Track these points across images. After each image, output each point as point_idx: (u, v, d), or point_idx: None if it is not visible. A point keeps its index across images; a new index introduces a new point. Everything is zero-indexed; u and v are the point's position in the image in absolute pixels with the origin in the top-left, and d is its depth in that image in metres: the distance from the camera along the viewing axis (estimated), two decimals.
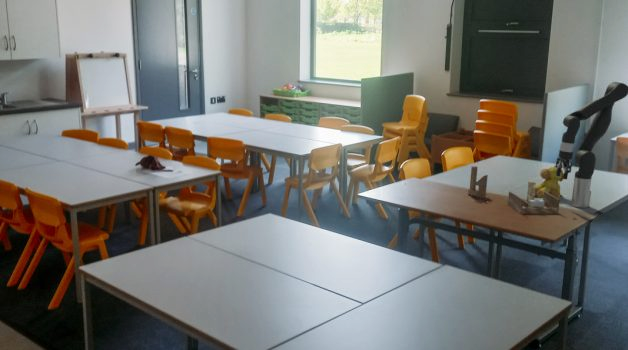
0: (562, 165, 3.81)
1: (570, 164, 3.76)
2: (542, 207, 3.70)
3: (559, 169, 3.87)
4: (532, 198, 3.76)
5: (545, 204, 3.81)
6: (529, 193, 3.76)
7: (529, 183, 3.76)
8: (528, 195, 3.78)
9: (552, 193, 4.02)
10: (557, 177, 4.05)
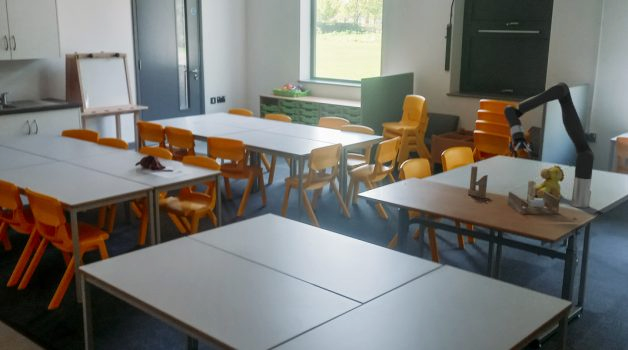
0: None
1: (509, 143, 3.91)
2: (542, 207, 3.70)
3: (528, 152, 3.90)
4: (532, 198, 3.76)
5: (545, 204, 3.81)
6: (529, 193, 3.76)
7: (529, 183, 3.76)
8: (528, 195, 3.78)
9: (552, 193, 4.02)
10: (557, 177, 4.05)
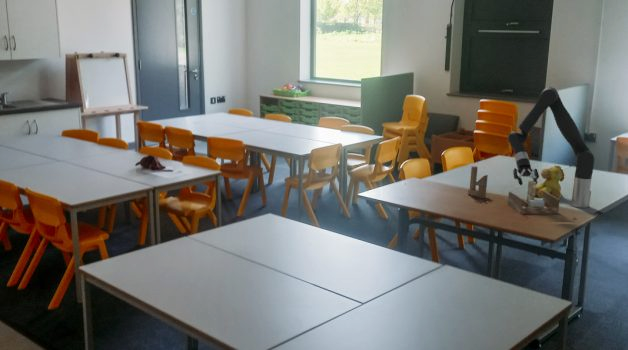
0: None
1: (514, 170, 3.84)
2: (542, 207, 3.70)
3: (533, 178, 3.83)
4: (532, 198, 3.76)
5: (545, 204, 3.81)
6: (529, 193, 3.76)
7: (529, 183, 3.76)
8: (528, 195, 3.78)
9: (553, 193, 4.02)
10: (558, 177, 4.05)
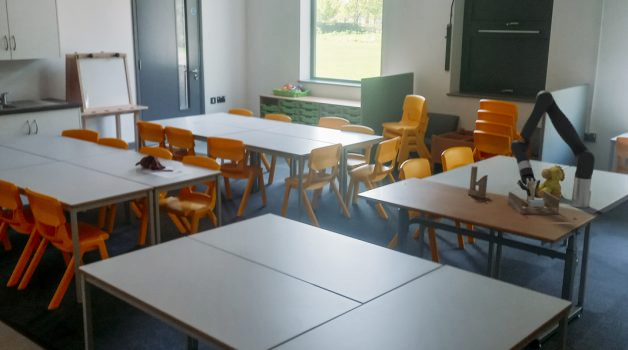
0: None
1: (518, 182, 3.79)
2: (542, 207, 3.70)
3: None
4: (532, 198, 3.76)
5: (545, 204, 3.81)
6: None
7: (529, 183, 3.76)
8: None
9: (554, 193, 4.02)
10: (558, 177, 4.05)
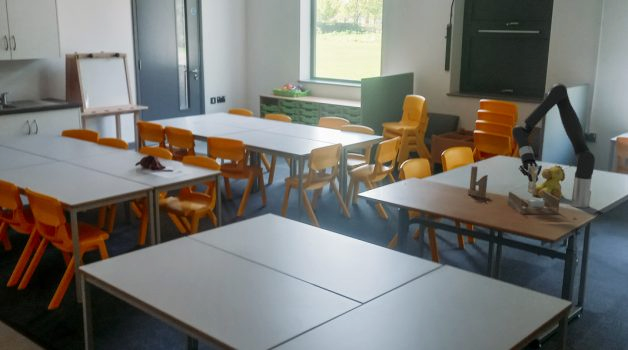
0: None
1: (520, 168, 3.77)
2: (542, 207, 3.70)
3: None
4: (534, 183, 3.74)
5: (545, 204, 3.81)
6: None
7: (530, 168, 3.75)
8: (529, 181, 3.76)
9: (554, 193, 4.02)
10: (558, 177, 4.05)
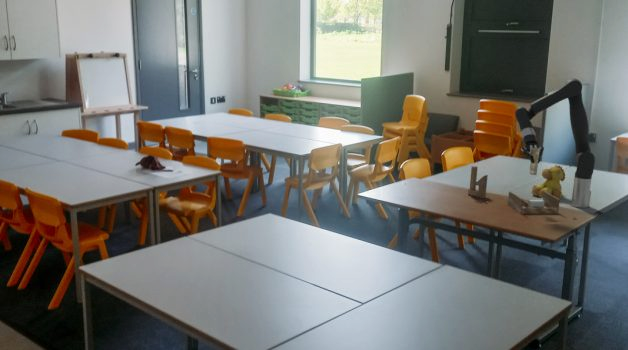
0: None
1: (522, 149, 3.75)
2: (542, 207, 3.70)
3: None
4: (536, 165, 3.72)
5: (545, 204, 3.81)
6: None
7: (532, 150, 3.72)
8: (531, 162, 3.74)
9: (554, 193, 4.02)
10: (559, 177, 4.05)
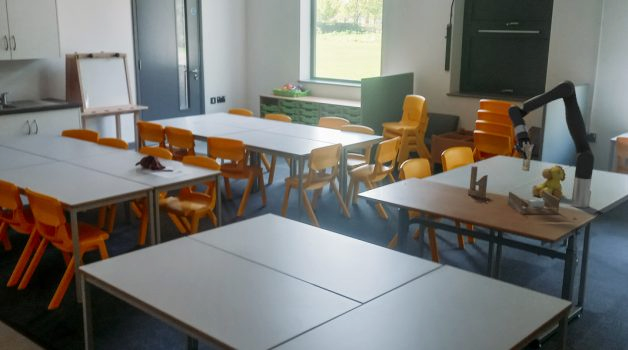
0: None
1: (515, 146, 3.84)
2: (542, 207, 3.70)
3: None
4: (528, 161, 3.81)
5: (545, 204, 3.81)
6: None
7: (525, 146, 3.82)
8: None
9: (555, 193, 4.02)
10: (559, 177, 4.05)
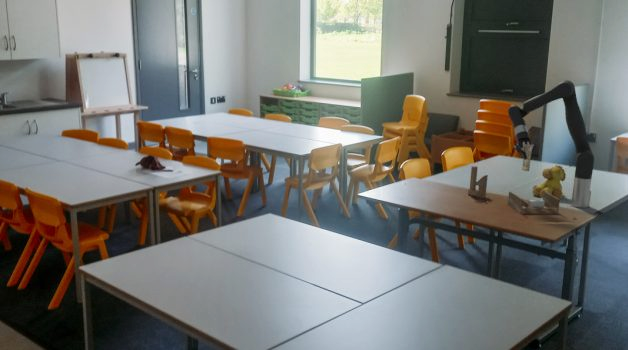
0: None
1: (515, 146, 3.84)
2: (542, 207, 3.70)
3: None
4: (528, 161, 3.81)
5: (545, 204, 3.81)
6: None
7: (525, 146, 3.82)
8: None
9: (555, 193, 4.02)
10: (559, 177, 4.05)
